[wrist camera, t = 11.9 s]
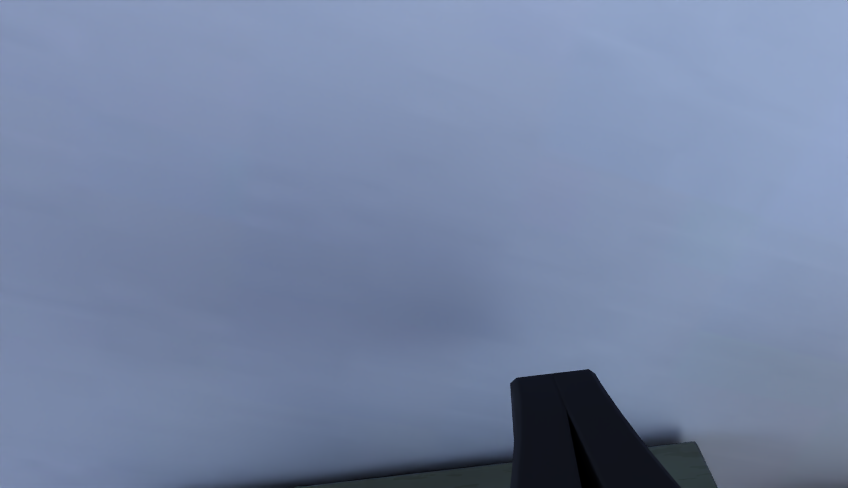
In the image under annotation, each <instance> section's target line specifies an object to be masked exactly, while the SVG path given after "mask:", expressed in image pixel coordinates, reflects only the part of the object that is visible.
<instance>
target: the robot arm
mask: <svg viewBox="0 0 848 488" xmlns="http://www.w3.org/2000/svg"><path fill="white" fill-rule="evenodd" d="M510 388H511V402H512V417H513V432H514V452H513V463H512V473H511V483H510V488H681V487H680V486H679V484H678V483H677V482H676V481H675V480H674V479H673V477H672V476H671V475H670V474H669V473H668V471H667V470H666V469H665V468H664V467H663V465H662V464H661V463H660V462H659V461H658V459H657V458H656V457H655V456H654V455H653V453H652V452H651V451H650V450H649V449H648V447H647V446H646V445H645V443H644V442H643V441H642V440H641V438H640V437H639V436H638V435H637V433H636V432H635V431H634V429H633V428H632V427H631V425H630V424H629V423H628V421H627V420H626V419H625V417H624V416H623V415H622V413H621V412H620V410H619V409H618V408H617V406H616V405H615V403H614V402H613V400H612V399H611V398H610V396H609V395H608V393H607V392H606V390H605V389H604V387H603V386H602V384H601V383H600V381H599V379H598V378H597V376H596V374H595V373H593V372H592V371H590V370H589V369H587V370H579V371H570V372H562V373H553V374H545V375H536V376H528V377H520V378H516V379H515V380H514V381H513V382H511V383H510Z"/></svg>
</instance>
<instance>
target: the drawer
mask: <svg viewBox="0 0 848 488" xmlns="http://www.w3.org/2000/svg"><path fill="white" fill-rule="evenodd" d="M648 449H649V450H650V451H651V452H652V453H653V455H654V456H655V457H656V458H657V459H658V461H659V462H660V463H661V464H662V465H663V467H664V468H665V469H666V470H667V471H668V473H669V474H670V475H671V476H672V477H673V479H674V480H675V481H676V482H677V483H678V484H679V486H680V487H681V488H718V487H717V485H716V483H715V481H714V479H713V477H712V474H711V472H710V470H709V468H708V466H707V464H706V462H705V460H704V458H703V456H702V453H701V451H700V449H699V447H698V445H697V443H696V442H685V443H676V444H667V445H659V446H650V447H648ZM512 463H513V462H510V463H502V464H493V465H484V466H476V467H467V468H458V469H449V470H441V471H432V472H423V473H414V474H406V475H397V476H388V477H380V478H371V479H362V480H353V481H345V482H336V483H327V484H319V485H310V486H301V487H292V488H510V483H511V473H512Z"/></svg>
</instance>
